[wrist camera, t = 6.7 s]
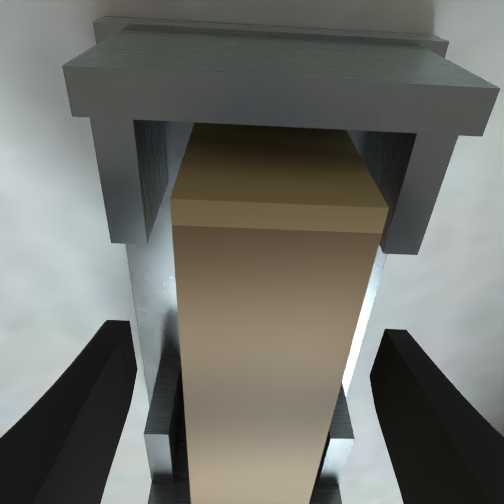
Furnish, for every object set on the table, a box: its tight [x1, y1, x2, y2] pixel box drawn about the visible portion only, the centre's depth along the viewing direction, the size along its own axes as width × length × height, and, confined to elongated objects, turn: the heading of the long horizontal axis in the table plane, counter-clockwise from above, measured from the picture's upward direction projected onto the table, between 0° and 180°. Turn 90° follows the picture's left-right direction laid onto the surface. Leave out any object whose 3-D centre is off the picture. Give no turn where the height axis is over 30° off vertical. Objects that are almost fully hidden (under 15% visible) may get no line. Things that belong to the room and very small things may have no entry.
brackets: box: [62, 16, 500, 504], centre depth 13 cm, size 16×8×5 cm, turn 177°
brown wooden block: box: [170, 122, 389, 504], centre depth 12 cm, size 12×4×5 cm, turn 177°
